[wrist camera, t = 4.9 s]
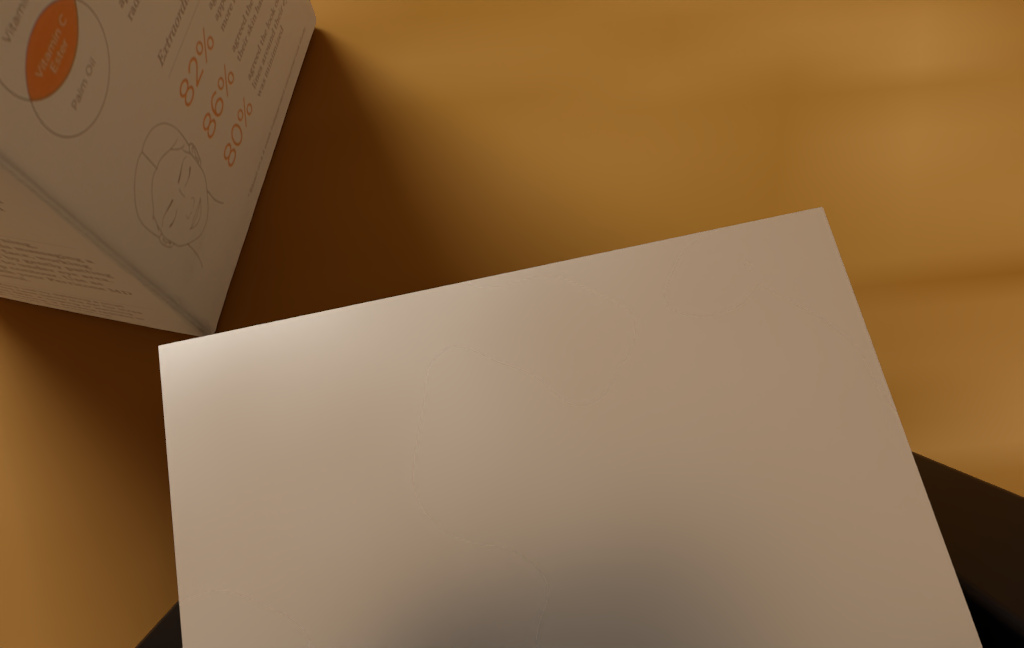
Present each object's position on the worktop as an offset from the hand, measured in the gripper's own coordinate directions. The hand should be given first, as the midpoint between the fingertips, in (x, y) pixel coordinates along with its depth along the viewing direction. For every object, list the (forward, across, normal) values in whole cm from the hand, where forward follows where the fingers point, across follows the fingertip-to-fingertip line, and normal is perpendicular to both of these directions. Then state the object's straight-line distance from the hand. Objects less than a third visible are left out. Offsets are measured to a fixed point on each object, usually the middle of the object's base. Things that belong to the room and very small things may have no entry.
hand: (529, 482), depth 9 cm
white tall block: (+3, 0, +5) cm, 6 cm away
